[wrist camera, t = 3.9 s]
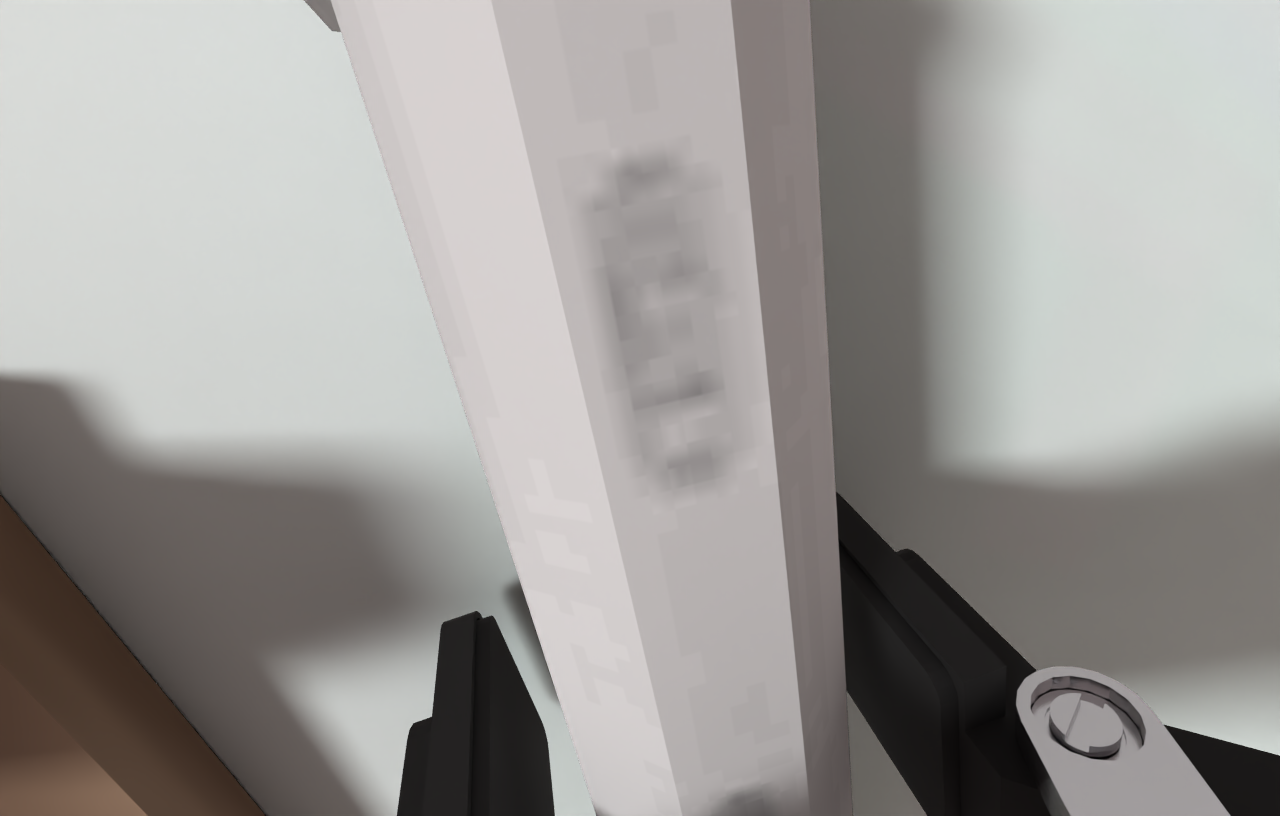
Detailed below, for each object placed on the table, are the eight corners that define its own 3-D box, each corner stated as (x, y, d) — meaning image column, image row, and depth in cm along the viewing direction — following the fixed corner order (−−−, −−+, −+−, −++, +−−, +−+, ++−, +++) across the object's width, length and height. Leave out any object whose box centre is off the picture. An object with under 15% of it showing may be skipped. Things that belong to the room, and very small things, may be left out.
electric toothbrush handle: (1033, -1375, 3) (1034, 1430, 10) (666, -234, 9) (833, 965, 16) (-494, -1593, 2) (720, 1584, 9) (280, -192, 8) (637, 1037, 16)
